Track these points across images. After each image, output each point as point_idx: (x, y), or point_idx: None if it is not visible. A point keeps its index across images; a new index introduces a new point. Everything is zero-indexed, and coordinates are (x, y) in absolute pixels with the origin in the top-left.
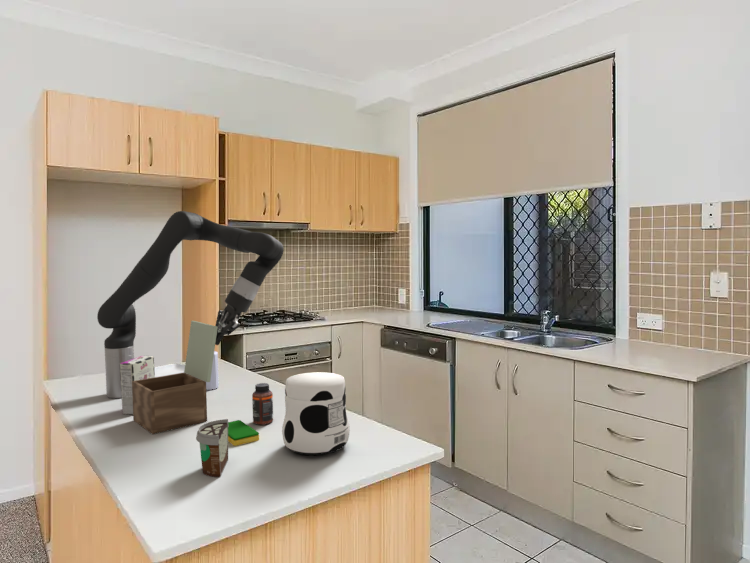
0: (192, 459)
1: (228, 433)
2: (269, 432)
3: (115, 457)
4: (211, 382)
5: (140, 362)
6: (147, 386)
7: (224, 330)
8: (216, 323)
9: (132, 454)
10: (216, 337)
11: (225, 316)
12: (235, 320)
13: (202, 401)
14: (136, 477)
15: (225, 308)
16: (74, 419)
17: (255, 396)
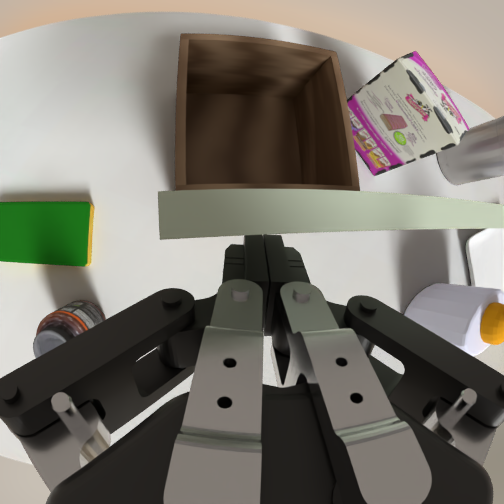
0: (8, 122)
1: (24, 203)
2: (22, 298)
3: (113, 30)
4: (413, 320)
5: (418, 89)
6: (326, 90)
7: (129, 310)
8: (389, 316)
9: (103, 48)
10: (243, 262)
11: (228, 438)
12: (26, 452)
13: None
14: (24, 49)
15: (467, 495)
16: (358, 50)
17: (49, 314)
